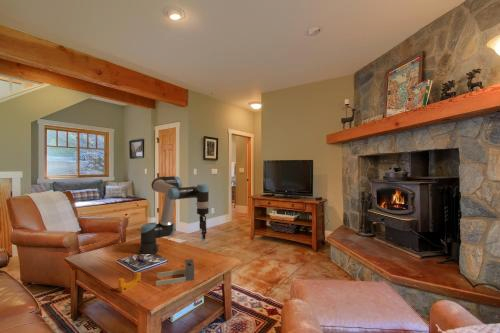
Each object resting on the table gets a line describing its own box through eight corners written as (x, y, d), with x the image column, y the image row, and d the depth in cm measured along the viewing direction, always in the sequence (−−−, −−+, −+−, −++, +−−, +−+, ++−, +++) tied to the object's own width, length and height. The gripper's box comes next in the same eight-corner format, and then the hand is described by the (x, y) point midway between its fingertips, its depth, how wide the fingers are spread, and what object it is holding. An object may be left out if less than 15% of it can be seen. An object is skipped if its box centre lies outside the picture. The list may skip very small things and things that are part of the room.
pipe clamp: (122, 292, 133) (122, 281, 133) (118, 290, 136) (118, 279, 136) (142, 284, 143) (142, 273, 143) (138, 282, 146) (138, 271, 146)
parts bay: (157, 276, 153) (157, 272, 153) (184, 273, 158) (184, 269, 158) (155, 285, 141) (155, 281, 141) (185, 281, 146) (185, 277, 146)
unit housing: (185, 273, 157) (185, 258, 157) (193, 272, 159) (193, 257, 159) (185, 280, 147) (185, 265, 147) (194, 279, 148) (194, 264, 149)
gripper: (195, 205, 166) (195, 236, 166) (198, 211, 144) (198, 247, 143) (206, 205, 168) (206, 235, 168) (211, 210, 146) (211, 245, 146)
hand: (202, 241), depth 156 cm, fingers open, 11 cm apart
